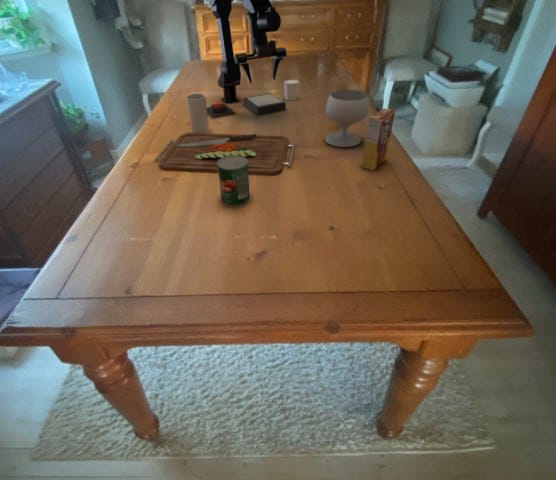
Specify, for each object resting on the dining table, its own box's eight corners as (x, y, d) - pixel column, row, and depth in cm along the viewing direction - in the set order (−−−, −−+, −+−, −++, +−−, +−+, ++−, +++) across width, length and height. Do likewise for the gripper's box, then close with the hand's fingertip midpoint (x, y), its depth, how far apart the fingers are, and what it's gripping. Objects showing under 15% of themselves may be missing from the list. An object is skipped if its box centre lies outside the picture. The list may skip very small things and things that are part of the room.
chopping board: (148, 169, 111) (146, 160, 109) (176, 136, 130) (174, 127, 128) (288, 176, 104) (289, 166, 102) (296, 140, 123) (296, 131, 121)
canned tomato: (216, 204, 94) (211, 166, 87) (228, 189, 100) (224, 153, 92) (243, 208, 92) (240, 170, 84) (254, 194, 97) (252, 157, 90)
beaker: (189, 131, 133) (183, 95, 124) (206, 128, 135) (201, 92, 126) (194, 137, 128) (189, 100, 119) (212, 134, 130) (207, 97, 121)
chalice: (336, 152, 115) (343, 104, 105) (315, 137, 124) (318, 92, 114) (371, 144, 119) (380, 97, 108) (347, 130, 128) (354, 86, 118)
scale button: (213, 106, 147) (212, 102, 146) (221, 104, 148) (220, 100, 147) (215, 108, 144) (215, 104, 143) (223, 107, 146) (223, 103, 144)
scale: (243, 105, 153) (243, 97, 151) (269, 100, 157) (269, 92, 154) (257, 115, 143) (257, 107, 140) (285, 110, 146) (285, 101, 144)
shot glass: (297, 101, 154) (298, 83, 150) (282, 100, 156) (282, 83, 151) (299, 96, 159) (300, 79, 155) (284, 95, 161) (284, 79, 156)
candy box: (372, 156, 112) (383, 107, 101) (385, 160, 109) (397, 110, 99) (359, 167, 107) (369, 116, 96) (372, 171, 105) (383, 119, 94)
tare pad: (203, 110, 150) (202, 103, 149) (224, 106, 153) (224, 100, 151) (212, 118, 142) (211, 112, 140) (235, 114, 145) (234, 108, 143)
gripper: (236, 37, 116) (242, 88, 125) (289, 29, 118) (292, 80, 127) (231, 36, 125) (237, 84, 134) (281, 29, 127) (283, 76, 136)
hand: (262, 81), depth 133 cm, fingers open, 9 cm apart
